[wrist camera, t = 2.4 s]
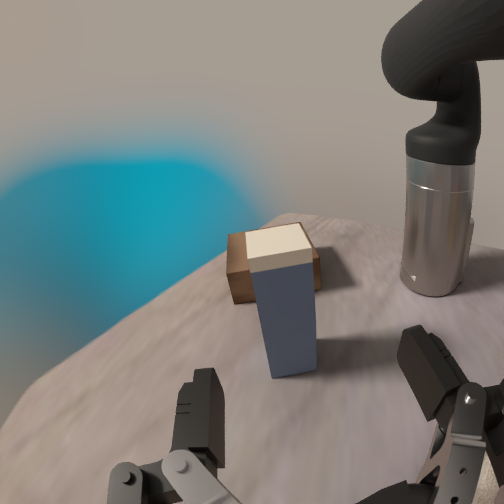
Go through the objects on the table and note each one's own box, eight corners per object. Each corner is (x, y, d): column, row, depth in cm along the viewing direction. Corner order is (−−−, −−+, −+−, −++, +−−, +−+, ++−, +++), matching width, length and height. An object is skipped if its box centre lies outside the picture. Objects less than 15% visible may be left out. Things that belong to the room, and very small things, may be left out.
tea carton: (308, 339, 31) (298, 223, 24) (316, 370, 27) (311, 247, 20) (267, 346, 31) (245, 232, 24) (271, 378, 27) (247, 258, 20)
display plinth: (303, 248, 49) (300, 222, 47) (321, 288, 38) (319, 257, 36) (233, 260, 49) (227, 234, 47) (234, 304, 39) (226, 273, 36)
